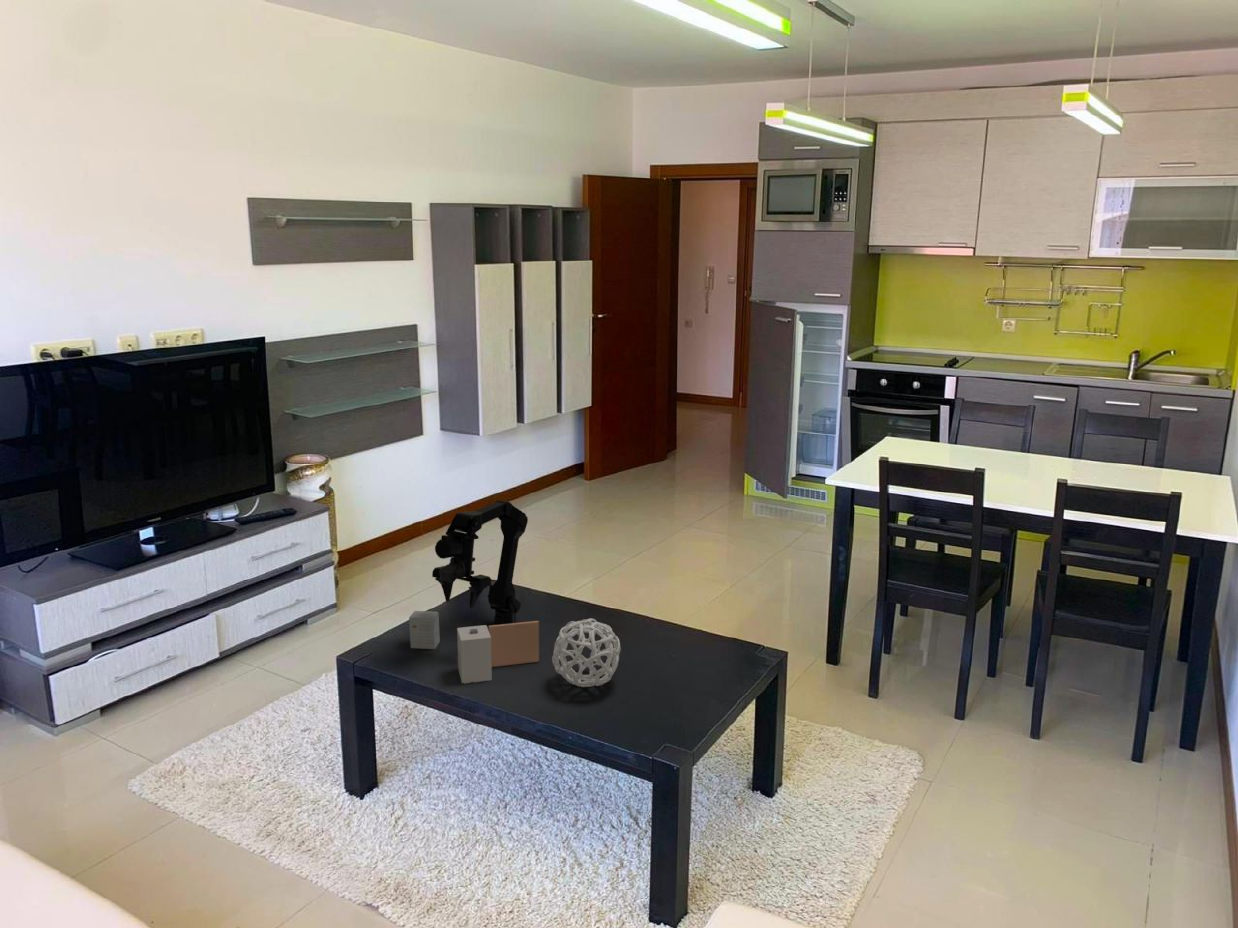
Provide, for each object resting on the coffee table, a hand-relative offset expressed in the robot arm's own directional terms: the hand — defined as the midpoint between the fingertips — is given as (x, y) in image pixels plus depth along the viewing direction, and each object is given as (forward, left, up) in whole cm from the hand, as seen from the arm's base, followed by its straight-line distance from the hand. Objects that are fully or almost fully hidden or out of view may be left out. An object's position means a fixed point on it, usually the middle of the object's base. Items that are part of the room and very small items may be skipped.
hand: (459, 604), depth 281 cm
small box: (+4, -13, -17) cm, 21 cm away
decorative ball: (-14, +41, -17) cm, 47 cm away
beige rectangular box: (+5, +14, -16) cm, 22 cm away
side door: (-7, +17, -16) cm, 25 cm away
